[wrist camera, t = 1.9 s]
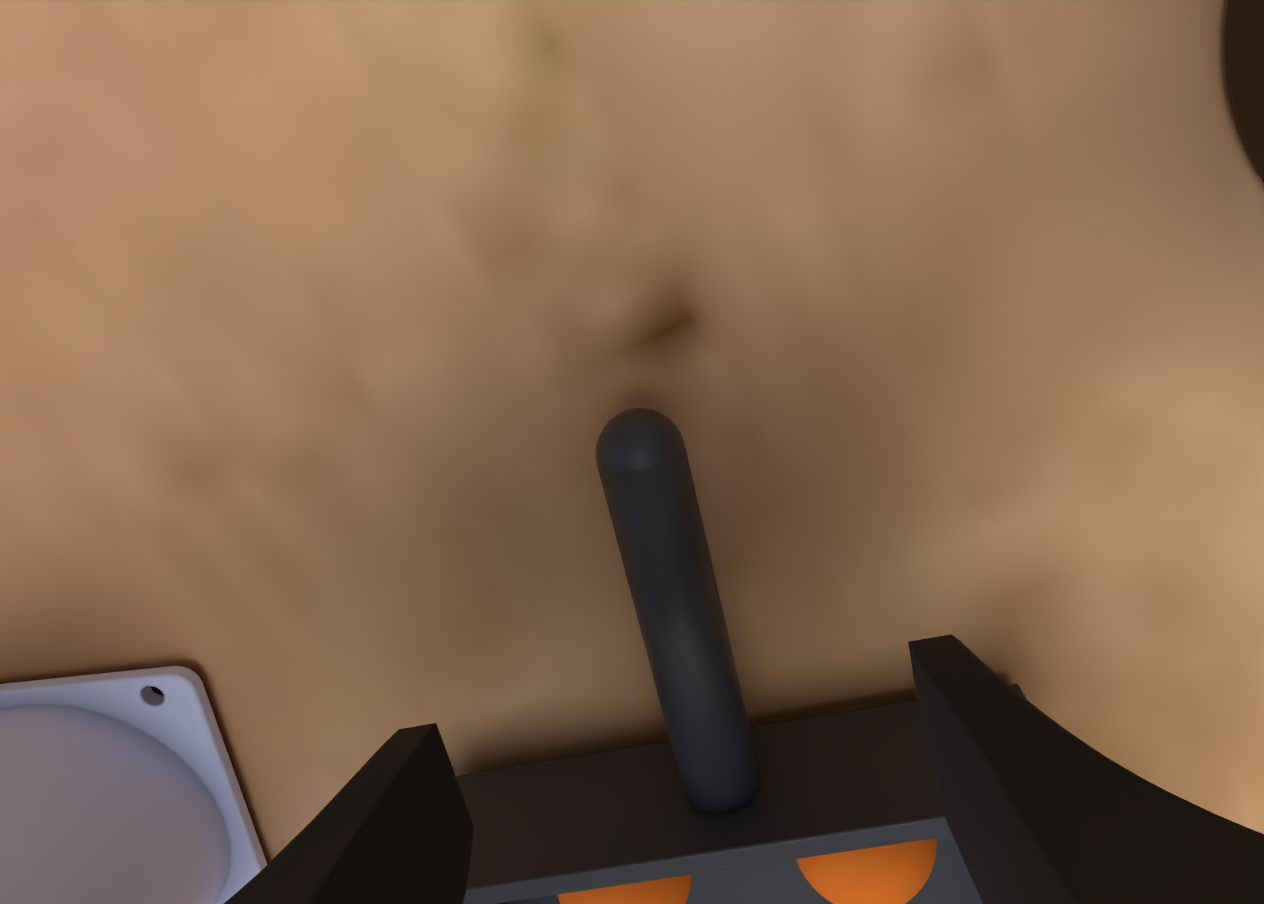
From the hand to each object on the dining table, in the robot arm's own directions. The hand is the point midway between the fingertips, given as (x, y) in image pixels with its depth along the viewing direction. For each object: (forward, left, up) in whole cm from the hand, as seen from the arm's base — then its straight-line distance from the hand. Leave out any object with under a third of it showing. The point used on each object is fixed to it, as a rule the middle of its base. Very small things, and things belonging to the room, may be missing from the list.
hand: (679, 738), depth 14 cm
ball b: (+3, -6, -4) cm, 8 cm away
